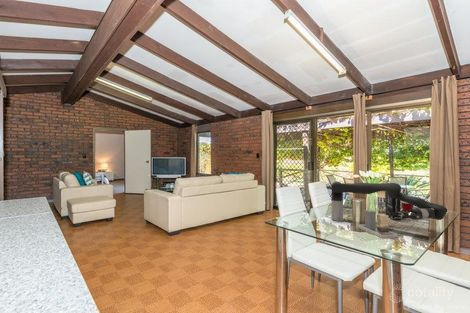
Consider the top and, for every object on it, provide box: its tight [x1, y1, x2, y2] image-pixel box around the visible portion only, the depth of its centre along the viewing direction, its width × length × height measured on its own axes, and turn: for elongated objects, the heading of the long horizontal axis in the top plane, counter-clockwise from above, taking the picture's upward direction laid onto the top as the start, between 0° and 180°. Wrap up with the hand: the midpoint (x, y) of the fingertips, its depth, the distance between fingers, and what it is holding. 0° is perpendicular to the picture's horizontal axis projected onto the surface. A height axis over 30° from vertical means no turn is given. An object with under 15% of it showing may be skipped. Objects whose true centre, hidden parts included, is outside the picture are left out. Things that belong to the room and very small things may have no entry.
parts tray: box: [357, 223, 399, 240], centre depth 180 cm, size 26×12×3 cm, turn 7°
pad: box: [351, 231, 381, 242], centre depth 172 cm, size 16×11×1 cm
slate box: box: [364, 209, 377, 230], centre depth 187 cm, size 5×5×14 cm
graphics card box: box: [384, 191, 402, 221], centre depth 221 cm, size 17×7×27 cm, turn 168°
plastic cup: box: [400, 200, 414, 212], centre depth 232 cm, size 11×11×12 cm
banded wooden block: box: [376, 213, 390, 235], centre depth 174 cm, size 5×5×14 cm
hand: (397, 215), depth 175 cm, fingers open, 8 cm apart
